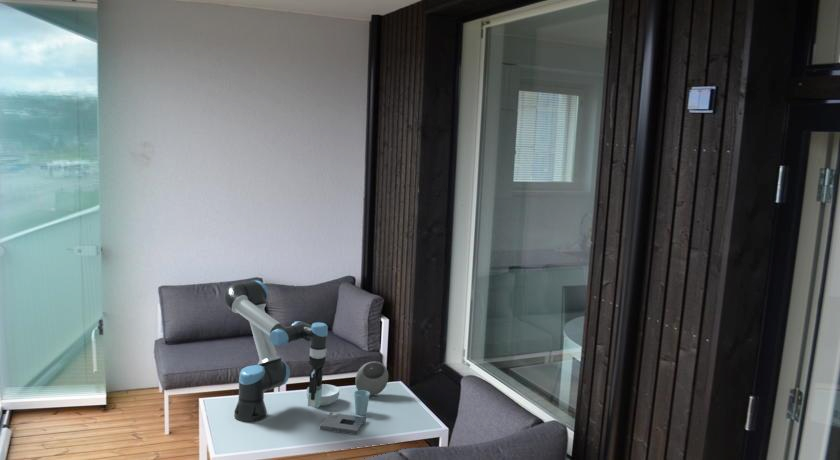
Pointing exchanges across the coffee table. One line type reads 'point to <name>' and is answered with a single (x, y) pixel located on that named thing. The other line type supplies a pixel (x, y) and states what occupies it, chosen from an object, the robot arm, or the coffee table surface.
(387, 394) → the coffee table surface
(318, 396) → the plug
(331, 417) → the socket plate
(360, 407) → the cup
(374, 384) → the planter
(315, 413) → the coffee table surface
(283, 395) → the coffee table surface
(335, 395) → the cereal bowl
